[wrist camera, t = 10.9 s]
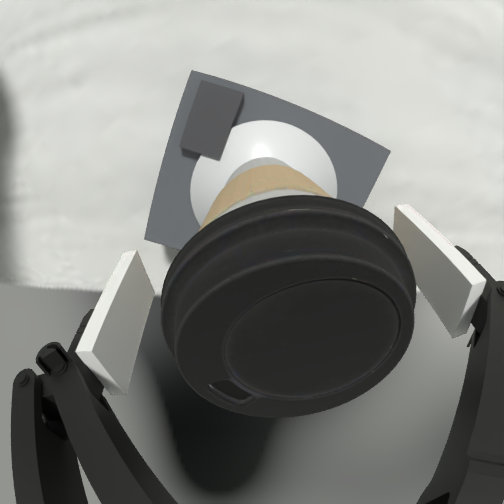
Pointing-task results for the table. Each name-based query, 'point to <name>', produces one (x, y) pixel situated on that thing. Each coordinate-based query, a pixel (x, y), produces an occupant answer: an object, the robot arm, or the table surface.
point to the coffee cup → (287, 297)
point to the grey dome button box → (249, 153)
